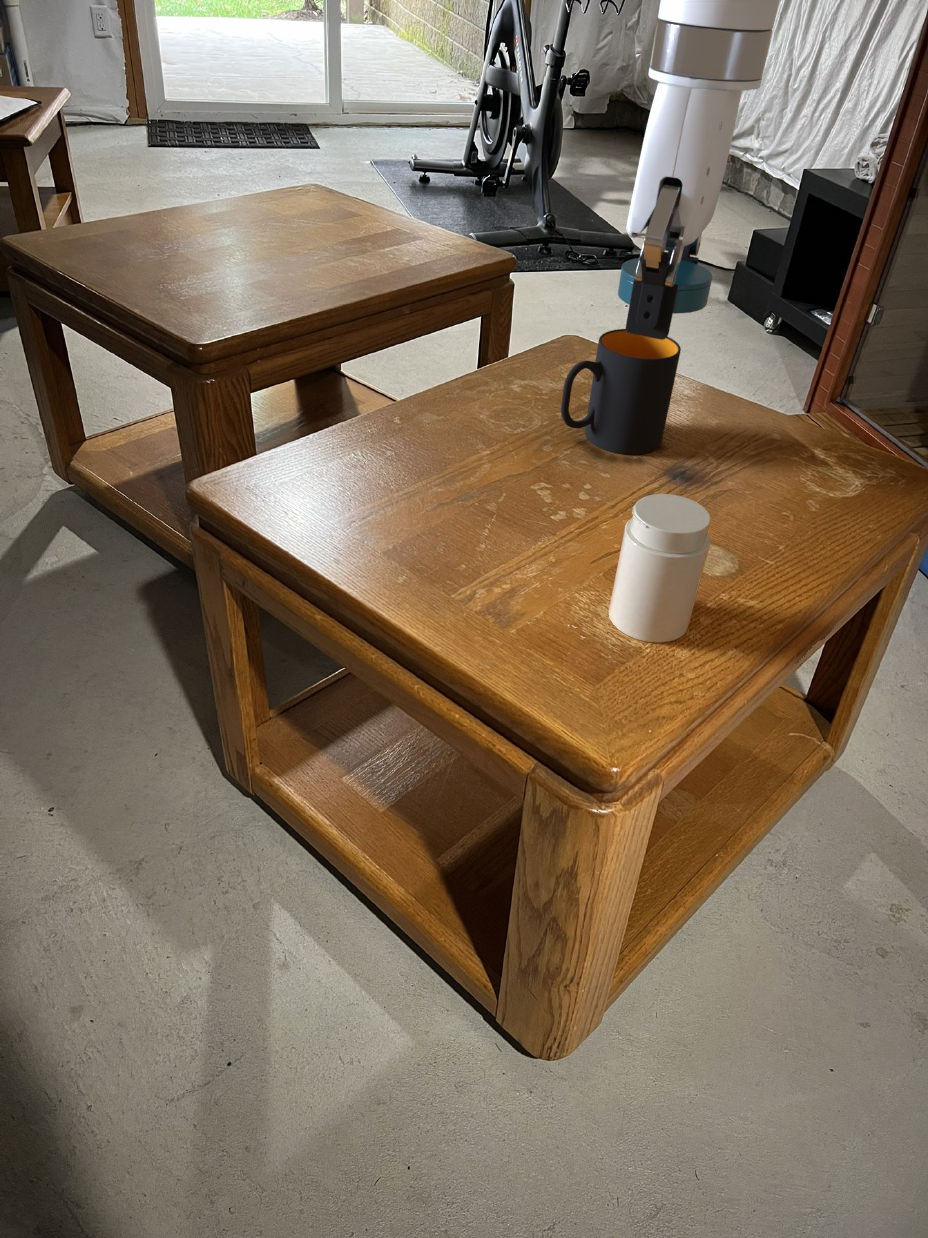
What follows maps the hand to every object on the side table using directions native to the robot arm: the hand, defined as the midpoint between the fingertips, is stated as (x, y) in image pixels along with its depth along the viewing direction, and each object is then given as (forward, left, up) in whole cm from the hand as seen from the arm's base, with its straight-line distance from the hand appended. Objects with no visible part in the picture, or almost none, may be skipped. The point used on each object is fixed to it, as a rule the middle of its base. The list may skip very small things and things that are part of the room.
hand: (658, 317), depth 73 cm
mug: (-7, -17, -20) cm, 27 cm away
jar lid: (0, 0, +3) cm, 3 cm away
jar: (+3, +13, -20) cm, 24 cm away
